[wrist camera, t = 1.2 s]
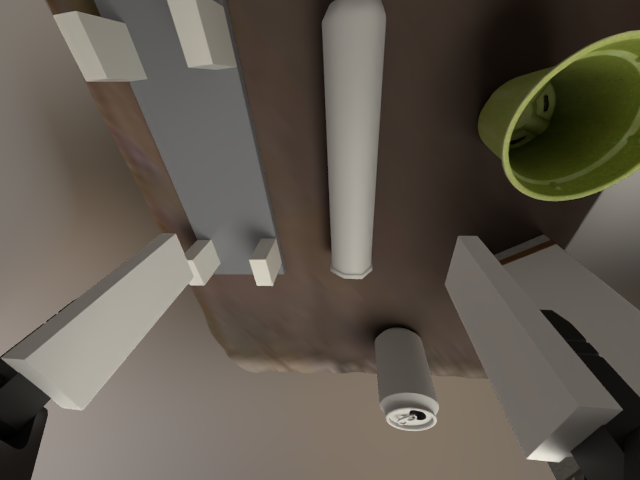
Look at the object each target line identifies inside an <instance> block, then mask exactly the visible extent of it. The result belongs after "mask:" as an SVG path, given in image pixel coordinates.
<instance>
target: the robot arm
mask: <svg viewBox="0 0 640 480" xmlns="http://www.w3.org/2000/svg"><path fill="white" fill-rule="evenodd" d="M193 277H194V276H193V273H192V271H191V269H190V266H189V264H188V261H187V259H186V257H185V254H184V252H183V250H182V247H181V245H180V242H179V240H178V238H177V235H176V234H160V235H159V236H158V237H156V238H155V239H154V240H153V241H151V242H150V243H149V244H147V245H146V246H145V247H144V248H142V249H141V250H140V251H138V252H137V253H136V254H135V255H133V256H132V257H131V258H129V259H128V260H127V261H125V262H124V263H123V264H122V265H120V266H119V267H118V268H116V269H115V270H114V271H112V272H111V273H110V274H109V275H107V276H106V277H105V278H103V279H102V280H101V281H100V282H98V283H97V284H96V285H94V286H93V287H92V288H90V289H89V290H88V291H87V292H85V293H84V294H83V295H82V296H80V297H79V298H77V299H76V300H74V301H72V302H71V303H70V304H68V305H67V306H66V307H64V308H63V309H62V310H60V311H59V313H58V314H55V315H54V316H53V317H51V318H50V319H49V320H47V322H46V323H45V324H42V325H41V326H40V327H38V328H37V329H36V330H34V331H33V332H32V333H30V334H29V335H28V336H27V337H25V338H24V339H23V340H21V341H20V342H19V343H18V344H16V345H15V346H14V347H12V348H11V349H10V350H8V351H7V352H6V353H4V354H3V355H2V356H1V357H0V480H31V477H32V473H33V470H34V466H35V462H36V458H37V454H38V451H39V447H40V443H41V439H42V435H43V431H44V428H45V424H46V420H47V416H48V411H47V409H46V408H44V407H43V406H44V405H45V404H46V403H47V402H48V401H49V400H50V399H52V400H53V401H54V402H56V403H57V404H58V405H59V406H60V407H62V408H66V409H75V410H84V408H85V407H86V406H87V405H88V404H89V402H90V401H91V400H92V399H93V398H94V396H95V395H96V394H97V393H98V392H99V390H100V389H101V388H102V387H103V386H104V384H105V383H106V382H107V381H108V380H109V378H110V377H111V376H112V375H113V373H114V372H115V371H116V370H117V369H118V368H119V366H120V365H121V364H122V363H123V361H124V360H125V359H126V358H127V357H128V355H129V354H130V353H131V352H132V351H133V349H134V348H135V347H136V346H137V345H138V343H139V342H140V341H141V340H142V339H143V337H144V336H145V335H146V334H147V332H148V331H149V330H150V329H151V328H152V326H153V325H154V324H155V323H156V321H158V319H159V318H160V317H161V316H162V315H163V313H164V312H165V311H166V310H167V309H168V307H169V306H170V305H171V304H172V302H173V301H174V300H175V299H176V298H177V297H178V295H179V294H180V293H181V292H182V291H183V289H184V288H185V287H186V286H187V284H188V283H189V282H190V281H191V280H192V278H193ZM445 286H446V289H447V291H448V293H449V295H450V297H451V299H452V301H453V304H454V306H455V308H456V310H457V312H458V314H459V316H460V318H461V321H462V323H463V325H464V327H465V329H466V331H467V333H468V336H469V338H470V340H471V342H472V344H473V346H474V348H475V351H476V353H477V355H478V357H479V359H480V361H481V363H482V365H483V368H484V370H485V372H486V374H487V376H488V378H489V380H490V383H491V385H492V387H493V389H494V391H495V393H496V395H497V398H498V400H499V402H500V404H501V406H502V408H503V410H504V412H505V415H506V417H507V419H508V421H509V423H510V425H511V427H512V430H513V432H514V434H515V436H516V438H517V440H518V442H519V444H520V447H521V449H522V451H523V453H524V455H525V457H526V459H532V460H541V461H550V462H560V461H562V460H563V459H564V458H565V457H566V456H568V455H569V454H570V453H571V454H572V456H573V457H574V459H575V461H576V462H577V464H578V466H579V467H580V469H579V470H577V471H576V472H575V473H573V474H572V475H570V476H569V477H568V478H566V479H565V480H640V397H639V396H638V395H637V394H636V393H635V391H634V390H633V389H632V388H631V387H630V386H629V385H628V384H627V383H626V382H625V381H624V380H623V379H622V377H621V376H620V375H619V374H618V373H617V372H616V371H615V370H614V369H613V368H612V367H611V366H610V364H609V363H608V362H607V361H606V360H605V359H604V358H603V357H600V356H599V353H598V352H597V350H596V349H595V348H594V347H593V346H592V345H591V344H590V343H587V342H586V339H585V338H584V336H583V335H582V334H581V333H580V332H579V331H578V330H577V329H576V328H575V327H574V326H573V325H572V324H571V323H570V322H569V321H567V320H566V319H564V318H563V317H561V316H560V315H559V314H557V313H556V312H554V311H553V310H540V309H538V308H537V306H536V305H535V304H534V303H533V302H532V301H531V299H530V298H529V297H528V296H527V295H526V293H525V292H524V291H523V290H522V289H521V287H520V286H519V285H518V284H517V283H516V281H515V280H514V279H513V278H512V277H511V276H510V274H509V273H508V272H507V271H506V270H505V268H504V267H503V266H502V265H501V264H500V262H499V261H498V260H497V259H496V258H495V256H494V255H493V254H492V253H491V252H490V250H489V249H488V248H487V247H486V246H485V245H484V243H483V242H482V241H481V240H480V239H479V237H478V236H458V238H457V242H456V245H455V249H454V252H453V256H452V260H451V263H450V267H449V270H448V274H447V277H446V281H445Z"/></svg>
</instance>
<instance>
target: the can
mask: <svg viewBox="0 0 640 480" xmlns="http://www.w3.org/2000/svg"><path fill="white" fill-rule="evenodd" d="M375 353H376V365H377V378H378V390H379V402H380V408H381V410H382V411H383V412H384V414H385V415H386V421H387V422H388V423H389V424H390V425H391V426H393V427H395V428H398V429H402V430H407V431H421V430H426V429H428V428H431V427H433V426H434V425H435V424H436V422H437V418H436V416H435V415H436V413H437V412H438V409H439V405H438V401H437V397H436V393H435V390H434V386H433V382H432V378H431V374H430V371H429V367H428V363H427V359H426V355H425V352H424V348H423V344H422V341H421V338H420V337H419V336H418V335H417V334H416V333H414V332H412V331H410V330H408V329H405V328H390V329H387V330H385V331H383V332H382V333H381V334H380V335H378V336H377V338H376V340H375Z"/></svg>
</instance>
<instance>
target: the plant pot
mask: <svg viewBox="0 0 640 480" xmlns="http://www.w3.org/2000/svg"><path fill="white" fill-rule="evenodd" d="M544 95H547V96H548V102H549V107H548V110H547V111H543V110H544V98H543V97H544ZM478 133H479V136H480V138H481V140H482V142H483V143H484V144H485V145H486V146H487V147H488V148H489V149H490V150H491V151H492V152H493V153H494V154H495V155H496V156H497V157H498V158H499V159H501V161H502V166H503V170H504V172H505V175H506V177H507V178H508V180H509V181H510V182H511V184H512V185H513V186H514V187H515V188H517V189H518V190H519V191H520V192H522V193H524V194H526V195H528V196H530V197H533V198H536V199H539V200H545V201H564V200H572V199H577V198H581V197H585V196H588V195H591V194H594V193H596V192H599V191H602V190H604V189H606V188H608V187H610V186H612V185H614V184H616V183H617V182H619V181H621V180H623V179H625V178H626V177H628V176H630V175H631V174H633V173H634V172H636V171H637V170H638V169H640V30H635V31H628V32H624V33H620V34H616V35H613V36H610V37H607V38H603V39H601V40H598V41H596V42H594V43H592V44H589V45H587V46H586V47H584V48H582V49H580V50H578V51H577V52H575V53H573V54H572V55H570V56H568V57H567V58H566V59H564V60H563V61H561V62H560V63H559V64H557V65H556V66H552V67H549V68H546V69H543V70H539V71H536V72H532V73H529V74H525V75H522V76H519V77H516V78H514V79H512V80H510V81H508V82H506V83H504V84H503V85H502V86H500V87H499V88H498V89H497V90H495V91H494V92H493V94H492V95H491V97H490V98H489V99H488V101H487V103H486V104H485V106H484V107H483V109H482V110H481V112H480V115H479V119H478ZM524 136H525V138H524V139H523V140H521V141H520V142H518V143H515V144H509V143H510V141H513V140H516V139H519V138H521V137H522V138H523V137H524Z"/></svg>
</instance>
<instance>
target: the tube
mask: <svg viewBox="0 0 640 480" xmlns="http://www.w3.org/2000/svg"><path fill="white" fill-rule="evenodd" d="M385 29H386V14H385V11H384V8H383V4H382V1H381V0H335V1H333V2H332V3H331V4H330V5H329V7H328V10H327V12H326V14H325V16H324V19H323V21H322V36H323V60H324V84H325V107H326V131H327V155H328V178H329V202H330V226H331V249H332V260H331V267H330V271H331V272H333V273H335V274H337V275H339V276H340V277H342V278H345V279H363V278H364V277H365V276H366V275H367V274H368V273H370V272H371V271H372V257H371V252H372V236H373V220H374V204H375V188H376V172H377V156H378V140H379V124H380V109H381V93H382V77H383V61H384V45H385Z"/></svg>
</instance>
